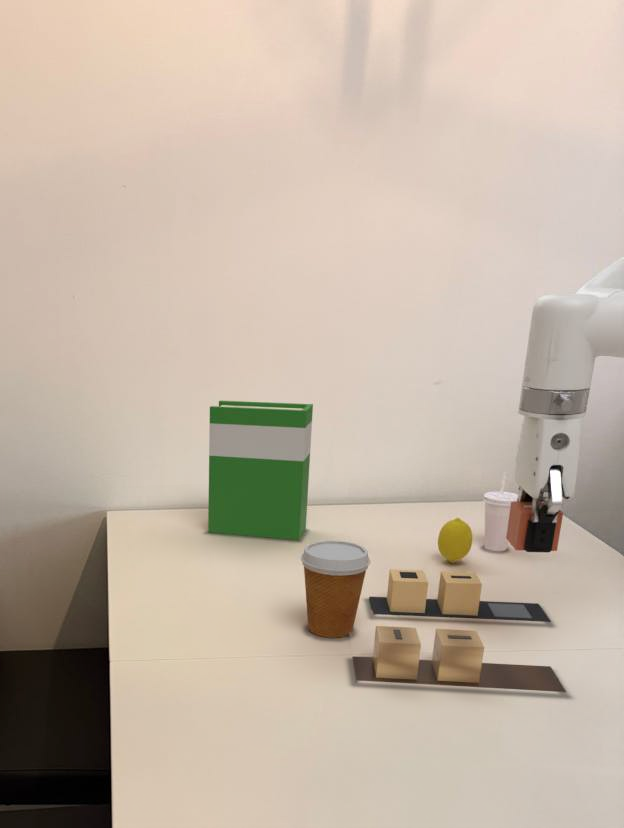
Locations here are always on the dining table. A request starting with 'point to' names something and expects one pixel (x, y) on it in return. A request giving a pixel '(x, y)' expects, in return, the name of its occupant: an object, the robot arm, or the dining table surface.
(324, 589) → the disposable coffee cup
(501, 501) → the smoothie
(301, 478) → the hardback book
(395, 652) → the front word
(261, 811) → the dining table surface
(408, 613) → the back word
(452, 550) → the lemon
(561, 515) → the block
